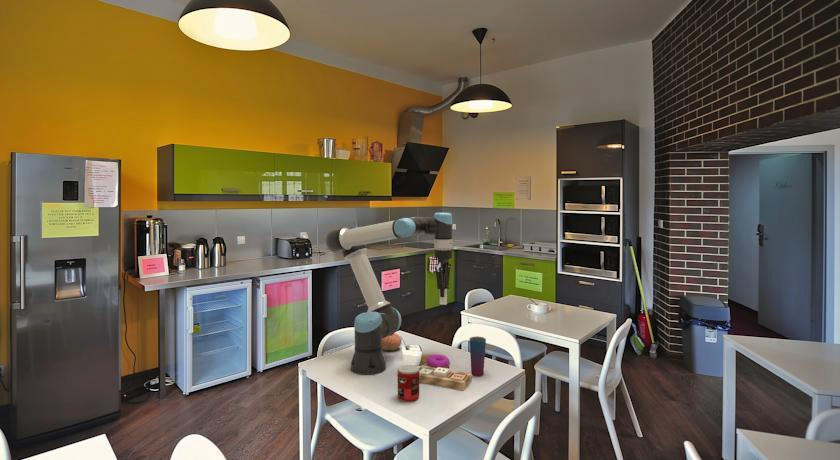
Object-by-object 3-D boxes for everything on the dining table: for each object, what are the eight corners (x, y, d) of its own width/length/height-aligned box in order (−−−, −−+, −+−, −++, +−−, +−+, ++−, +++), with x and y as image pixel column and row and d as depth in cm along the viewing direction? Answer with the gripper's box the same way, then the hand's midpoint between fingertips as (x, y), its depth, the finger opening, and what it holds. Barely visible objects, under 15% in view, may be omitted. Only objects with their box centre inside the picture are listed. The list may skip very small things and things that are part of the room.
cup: (485, 377, 183) (485, 341, 182) (468, 376, 185) (468, 340, 184) (486, 371, 190) (486, 336, 189) (470, 370, 191) (470, 336, 190)
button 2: (433, 376, 179) (433, 370, 178) (438, 372, 183) (438, 366, 183) (445, 378, 176) (445, 372, 176) (449, 374, 181) (449, 368, 181)
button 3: (449, 383, 176) (449, 377, 176) (454, 378, 180) (454, 372, 180) (462, 385, 174) (462, 379, 174) (466, 380, 178) (466, 374, 178)
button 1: (417, 377, 181) (417, 371, 181) (422, 373, 186) (422, 367, 186) (428, 379, 179) (428, 373, 179) (433, 374, 184) (433, 369, 184)
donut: (437, 373, 189) (437, 362, 189) (421, 366, 196) (421, 356, 196) (454, 366, 196) (454, 356, 196) (438, 360, 203) (438, 351, 203)
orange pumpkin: (401, 352, 213) (401, 336, 213) (378, 353, 213) (378, 336, 213) (401, 345, 224) (401, 330, 224) (380, 345, 224) (380, 330, 224)
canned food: (397, 393, 168) (397, 364, 168) (418, 392, 169) (418, 364, 168) (398, 402, 161) (397, 372, 160) (420, 401, 161) (420, 372, 161)
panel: (411, 381, 180) (411, 373, 180) (421, 372, 189) (421, 365, 189) (463, 390, 171) (463, 382, 171) (471, 381, 180) (471, 373, 180)
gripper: (446, 251, 182) (445, 308, 183) (456, 248, 193) (456, 301, 195) (429, 250, 185) (429, 306, 186) (440, 247, 196) (440, 300, 198)
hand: (443, 304), depth 191 cm, fingers closed
